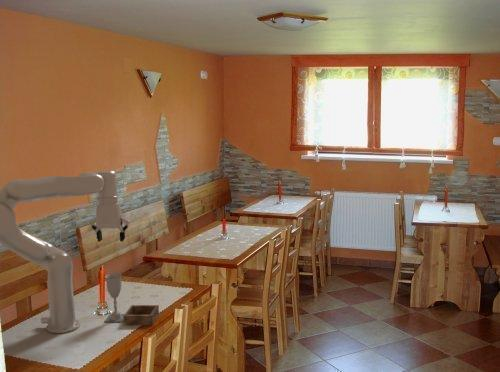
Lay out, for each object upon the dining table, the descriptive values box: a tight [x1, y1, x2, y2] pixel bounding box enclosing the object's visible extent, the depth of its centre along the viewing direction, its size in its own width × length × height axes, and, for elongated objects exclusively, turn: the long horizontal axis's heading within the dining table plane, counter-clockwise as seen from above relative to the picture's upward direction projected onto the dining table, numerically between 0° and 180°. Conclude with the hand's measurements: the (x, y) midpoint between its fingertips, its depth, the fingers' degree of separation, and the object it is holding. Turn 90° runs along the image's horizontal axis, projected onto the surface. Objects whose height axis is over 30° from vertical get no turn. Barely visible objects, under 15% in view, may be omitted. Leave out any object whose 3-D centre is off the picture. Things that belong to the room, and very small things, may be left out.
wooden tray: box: [123, 304, 160, 326], centre depth 233 cm, size 12×12×4 cm
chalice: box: [104, 272, 123, 320], centre depth 233 cm, size 7×7×18 cm
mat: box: [103, 313, 125, 323], centre depth 235 cm, size 8×8×1 cm
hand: (111, 240), depth 236 cm, fingers open, 9 cm apart
